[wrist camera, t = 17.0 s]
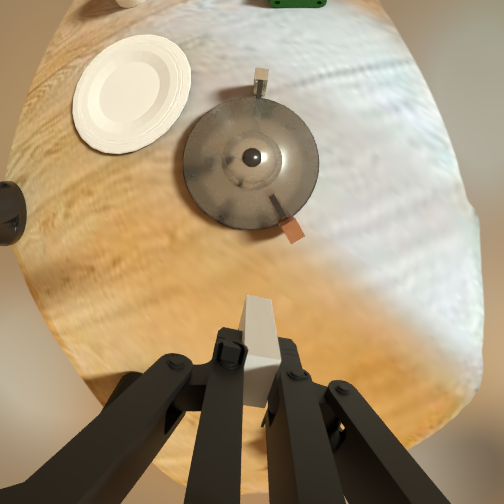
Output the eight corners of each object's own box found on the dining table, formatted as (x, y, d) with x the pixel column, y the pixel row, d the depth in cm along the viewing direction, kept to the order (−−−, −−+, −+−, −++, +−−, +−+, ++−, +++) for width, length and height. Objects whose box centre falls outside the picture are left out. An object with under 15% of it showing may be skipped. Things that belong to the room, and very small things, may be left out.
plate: (87, 49, 42) (83, 46, 41) (199, 32, 43) (198, 28, 41) (70, 159, 48) (65, 158, 46) (187, 153, 48) (184, 151, 46)
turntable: (162, 142, 46) (151, 137, 40) (273, 78, 43) (276, 66, 38) (237, 266, 51) (235, 275, 45) (347, 202, 48) (358, 204, 43)
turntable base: (162, 125, 47) (147, 115, 39) (281, 75, 45) (286, 57, 37) (216, 249, 52) (210, 260, 44) (336, 199, 50) (351, 201, 42)
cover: (216, 184, 46) (212, 183, 41) (228, 127, 44) (225, 119, 39) (275, 195, 47) (278, 197, 41) (287, 139, 45) (291, 133, 39)
